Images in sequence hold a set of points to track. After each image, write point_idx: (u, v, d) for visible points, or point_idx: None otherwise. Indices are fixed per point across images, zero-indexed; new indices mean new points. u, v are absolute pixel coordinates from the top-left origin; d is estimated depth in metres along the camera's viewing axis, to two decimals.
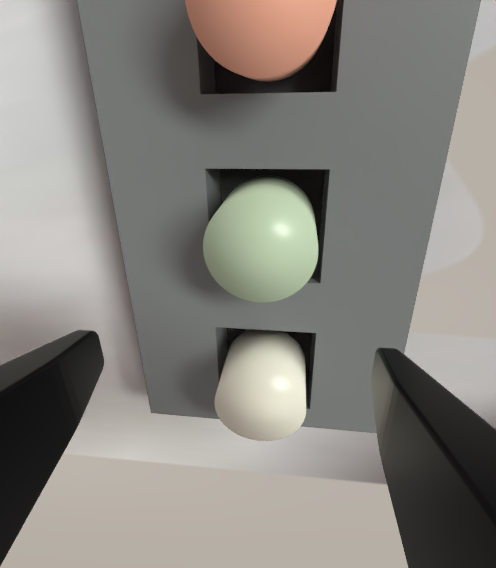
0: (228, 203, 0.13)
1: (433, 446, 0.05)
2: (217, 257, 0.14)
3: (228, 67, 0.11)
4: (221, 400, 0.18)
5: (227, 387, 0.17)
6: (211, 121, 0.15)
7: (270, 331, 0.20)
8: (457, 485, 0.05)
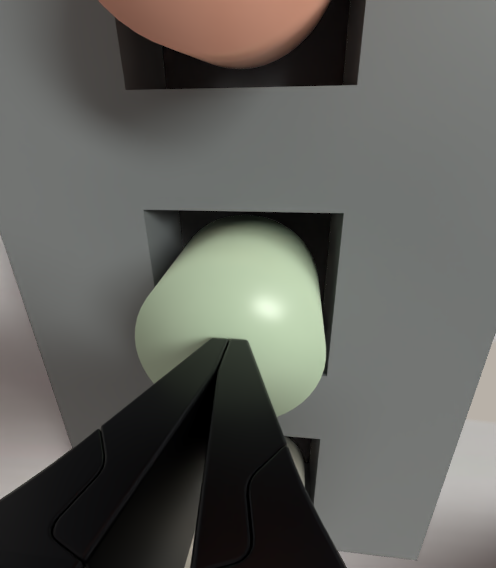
0: (171, 278, 0.08)
1: None
2: (160, 358, 0.09)
3: (144, 32, 0.06)
4: None
5: None
6: (147, 135, 0.09)
7: None
8: None
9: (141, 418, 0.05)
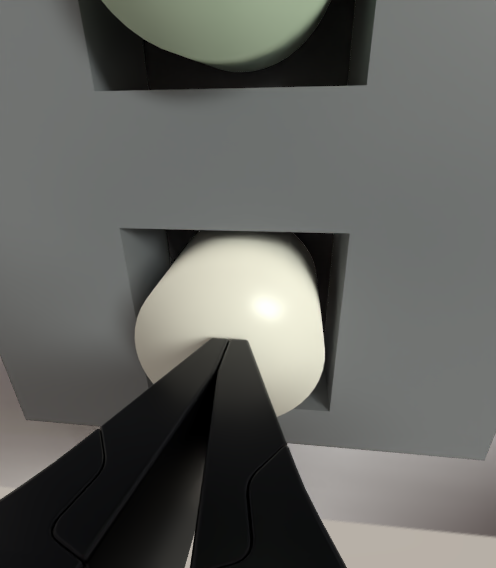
0: None
1: None
2: None
3: None
4: (148, 338, 0.09)
5: (158, 307, 0.08)
6: None
7: None
8: None
9: (141, 418, 0.05)
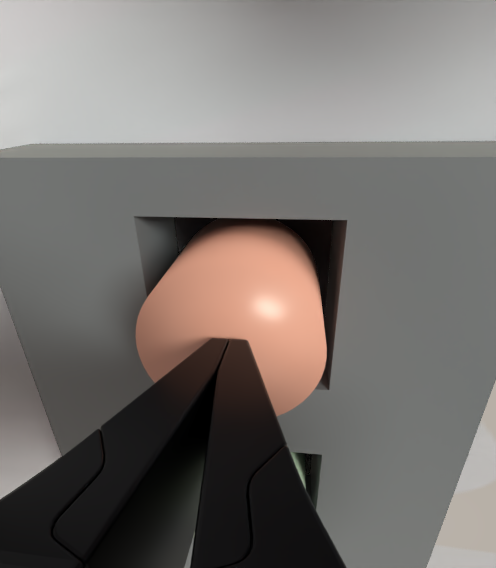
0: None
1: None
2: None
3: None
4: None
5: None
6: None
7: None
8: None
9: (141, 418, 0.05)
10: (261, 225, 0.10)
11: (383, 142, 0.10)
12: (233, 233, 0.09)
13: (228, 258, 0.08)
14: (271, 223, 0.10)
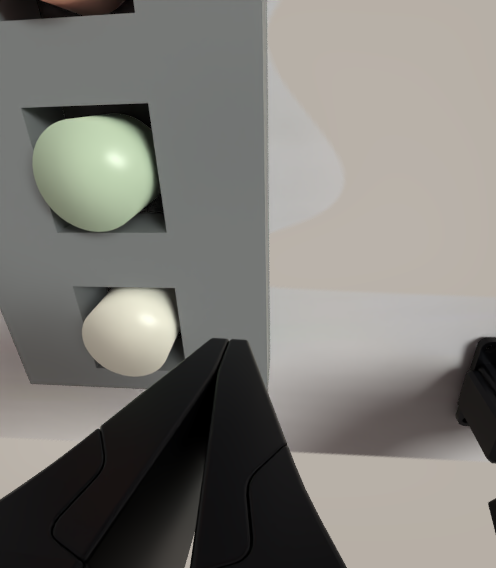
0: (47, 129, 0.14)
1: None
2: (49, 186, 0.15)
3: None
4: (88, 336, 0.18)
5: (91, 322, 0.18)
6: (14, 52, 0.14)
7: None
8: None
9: (141, 418, 0.05)
10: None
11: None
12: None
13: None
14: None
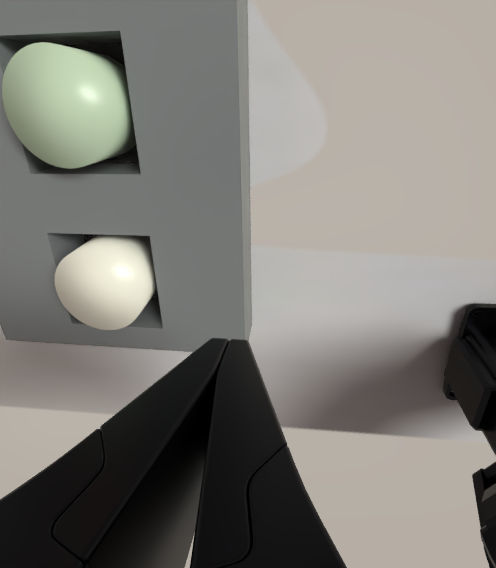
0: (16, 55, 0.14)
1: None
2: (19, 118, 0.15)
3: None
4: (61, 285, 0.18)
5: (63, 269, 0.17)
6: None
7: None
8: None
9: (141, 418, 0.05)
10: None
11: None
12: None
13: None
14: None
